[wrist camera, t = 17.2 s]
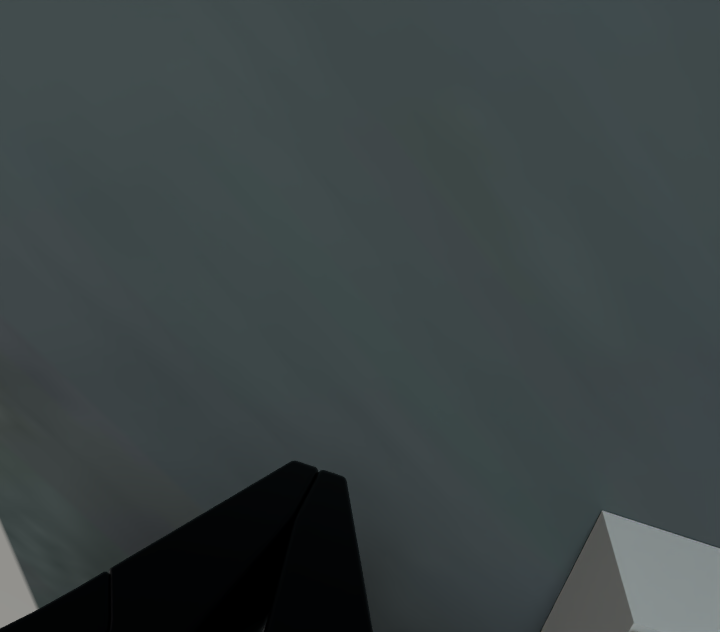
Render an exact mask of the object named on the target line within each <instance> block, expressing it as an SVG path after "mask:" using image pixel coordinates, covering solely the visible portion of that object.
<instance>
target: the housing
mask: <svg viewBox="0 0 720 632" xmlns="http://www.w3.org/2000/svg"><path fill="white" fill-rule="evenodd" d="M541 632H720V548H717V547H713V546H710V545H707V544H704V543H701V542H698V541H695V540H692V539H689V538H686V537H683V536H679V535H676V534H673V533H670V532H667V531H664V530H661V529H658V528H655V527H652V526H649V525H645V524H642V523H639V522H636V521H633V520H630V519H627V518H624V517H621V516H618V515H615V514H611V513H608V512H605V511H602V512H601V514H600V516H599V518H598V520H597V522H596V524H595V526H594V528H593V530H592V531H591V533H590V535H589V537H588V539H587V541H586V543H585V545H584V547H583V549H582V551H581V553H580V555H579V557H578V559H577V561H576V563H575V565H574V567H573V569H572V571H571V573H570V575H569V577H568V579H567V581H566V583H565V585H564V587H563V589H562V591H561V593H560V595H559V597H558V599H557V601H556V603H555V605H554V606H553V608H552V610H551V612H550V614H549V616H548V618H547V620H546V622H545V624H544V626H543V628H542V630H541Z"/></svg>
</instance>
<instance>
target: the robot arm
mask: <svg viewBox="0 0 720 632" xmlns="http://www.w3.org/2000/svg"><path fill="white" fill-rule="evenodd" d="M265 624H266V626H265ZM264 626H265V630H264V632H373V629H372V624H371V618H370V612H369V607H368V601H367V595H366V589H365V584H364V578H363V572H362V566H361V561H360V555H359V549H358V544H357V538H356V532H355V526H354V521H353V515H352V509H351V503H350V498H349V492H348V486H347V481H346V479H345V478H344V477H343V476H340V475H337V474H334V473H331V472H328V471H325V470H321V471H320V472H318V469H317V468H316V467H313V466H310V465H307V464H304V463H301V462H298V461H291V462H289V463H288V464H286V465H284V466H283V467H281V468H279V469H278V470H276V471H274V472H272V473H271V474H269V475H267V476H266V477H264V478H262V479H261V480H259V481H257V482H256V483H254V484H252V485H250V486H249V487H247V488H245V489H244V490H242V491H240V492H239V493H237V494H235V495H234V496H232V497H230V498H229V499H227V500H225V501H223V502H222V503H220V504H218V505H217V506H215V507H213V508H212V509H210V510H208V511H207V512H205V513H203V514H201V515H200V516H198V517H196V518H195V519H193V520H191V521H190V522H188V523H186V524H185V525H183V526H181V527H179V528H178V529H176V530H174V531H173V532H171V533H169V534H168V535H166V536H164V537H163V538H161V539H159V540H158V541H156V542H154V543H152V544H151V545H149V546H147V547H146V548H144V549H142V550H141V551H139V552H137V553H136V554H134V555H132V556H130V557H129V558H127V559H125V560H124V561H122V562H120V563H119V564H117V565H115V566H114V567H112V568H111V569H110V570H109V573H108V572H103V573H101V574H100V575H98V576H96V577H94V578H93V579H91V580H89V581H88V582H86V583H84V584H83V585H81V586H79V587H78V588H76V589H74V590H72V591H70V592H69V593H67V594H65V595H63V596H61V597H60V598H58V599H56V600H54V601H52V602H51V603H49V604H47V605H45V606H43V607H42V608H40V609H38V610H36V611H34V612H32V613H31V614H29V615H26V616H25V617H23V618H20V619H18V620H16V621H15V622H12V623H10V624H8V625H6V626H5V627H2V628H0V632H262V630H263V628H264Z"/></svg>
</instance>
